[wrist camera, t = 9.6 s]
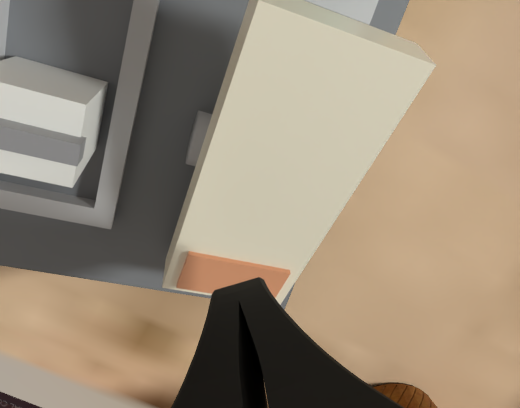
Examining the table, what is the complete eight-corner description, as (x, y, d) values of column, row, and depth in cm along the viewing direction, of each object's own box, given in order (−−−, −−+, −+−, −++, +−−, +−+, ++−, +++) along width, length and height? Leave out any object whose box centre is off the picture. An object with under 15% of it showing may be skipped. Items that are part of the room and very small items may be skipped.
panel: (450, -161, 12) (527, -210, 10) (276, 287, 18) (293, 337, 15) (-6, -411, 9) (-88, -595, 6) (-45, 232, 15) (-98, 284, 12)
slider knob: (112, 83, 12) (86, 111, 9) (100, 148, 13) (72, 197, 9) (11, 55, 11) (-58, 74, 8) (4, 125, 12) (-62, 170, 9)
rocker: (416, 43, 10) (439, 67, 9) (276, 278, 15) (279, 310, 14) (255, -18, 9) (258, 2, 8) (165, 258, 14) (161, 291, 13)
